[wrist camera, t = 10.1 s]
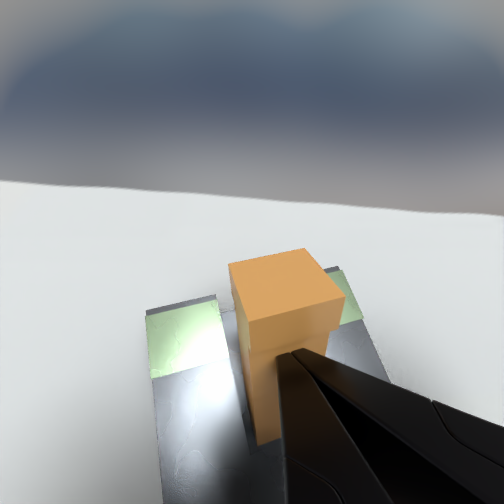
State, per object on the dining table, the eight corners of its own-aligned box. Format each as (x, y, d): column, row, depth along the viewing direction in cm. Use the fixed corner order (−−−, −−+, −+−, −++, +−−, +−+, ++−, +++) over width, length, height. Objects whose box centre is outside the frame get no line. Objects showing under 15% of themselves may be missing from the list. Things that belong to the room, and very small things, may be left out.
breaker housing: (391, 500, 12) (490, 575, 8) (195, 592, 10) (171, 766, 6) (312, 293, 17) (344, 263, 12) (164, 331, 15) (137, 311, 10)
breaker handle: (314, 434, 10) (345, 295, 6) (259, 454, 10) (248, 322, 5) (292, 384, 12) (304, 248, 8) (245, 399, 12) (228, 263, 7)
